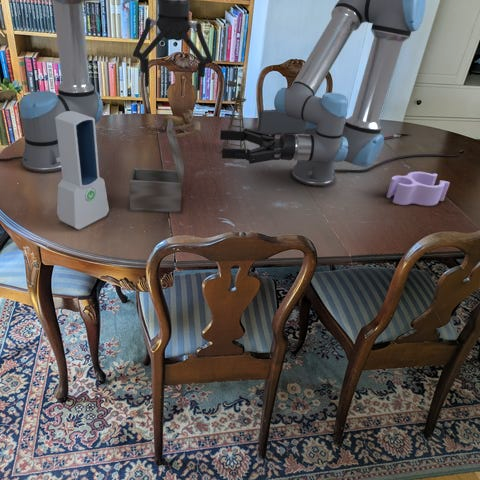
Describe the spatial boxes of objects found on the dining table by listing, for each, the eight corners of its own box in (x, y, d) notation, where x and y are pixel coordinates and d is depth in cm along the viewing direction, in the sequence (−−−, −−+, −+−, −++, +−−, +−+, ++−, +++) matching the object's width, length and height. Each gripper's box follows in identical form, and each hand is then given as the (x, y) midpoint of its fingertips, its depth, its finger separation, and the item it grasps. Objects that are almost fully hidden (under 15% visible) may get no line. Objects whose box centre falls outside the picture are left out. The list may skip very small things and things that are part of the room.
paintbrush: (406, 132, 223) (406, 130, 222) (411, 134, 221) (412, 132, 220) (362, 144, 207) (363, 141, 206) (368, 146, 205) (368, 143, 204)
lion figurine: (191, 128, 201) (192, 107, 196) (194, 132, 197) (195, 111, 192) (157, 129, 196) (157, 108, 192) (160, 134, 192) (160, 112, 187)
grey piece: (166, 131, 126) (198, 125, 126) (168, 119, 134) (198, 114, 134) (179, 182, 135) (209, 176, 135) (180, 169, 142) (209, 164, 142)
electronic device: (76, 231, 126) (63, 124, 110) (57, 222, 129) (42, 116, 113) (110, 214, 135) (103, 112, 119) (91, 206, 138) (82, 105, 122)
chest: (130, 210, 139) (128, 181, 134) (133, 195, 146) (132, 167, 141) (180, 212, 140) (181, 183, 135) (181, 198, 148) (182, 170, 143)
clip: (400, 208, 156) (406, 189, 152) (379, 191, 165) (384, 173, 162) (448, 203, 162) (455, 186, 158) (425, 187, 172) (431, 170, 168)
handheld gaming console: (303, 130, 212) (307, 109, 207) (306, 132, 210) (310, 111, 205) (256, 132, 205) (259, 109, 200) (259, 134, 203) (261, 111, 197)
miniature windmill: (241, 156, 181) (249, 76, 164) (220, 152, 182) (226, 73, 165) (246, 147, 188) (254, 71, 172) (225, 144, 189) (231, 68, 173)
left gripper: (119, -5, 109) (123, 87, 120) (226, 5, 111) (219, 94, 123) (123, -8, 115) (127, 80, 126) (224, 1, 118) (219, 86, 129)
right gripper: (299, 177, 128) (222, 174, 126) (285, 142, 149) (219, 139, 146) (303, 152, 124) (223, 148, 122) (288, 120, 144) (220, 116, 142)
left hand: (172, 87), depth 125 cm, fingers open, 13 cm apart
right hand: (221, 143), depth 134 cm, fingers open, 13 cm apart
